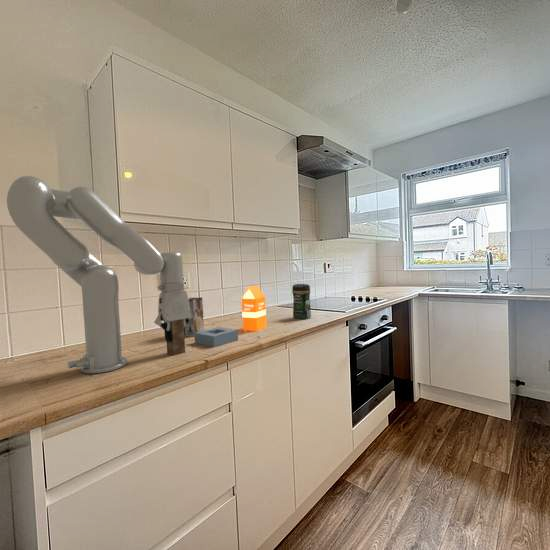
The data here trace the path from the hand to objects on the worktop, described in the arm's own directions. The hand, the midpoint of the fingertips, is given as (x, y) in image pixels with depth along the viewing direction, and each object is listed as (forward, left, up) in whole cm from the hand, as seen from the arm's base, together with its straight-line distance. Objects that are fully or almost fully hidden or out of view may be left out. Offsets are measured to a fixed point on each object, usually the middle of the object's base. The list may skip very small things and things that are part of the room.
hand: (175, 339), depth 105 cm
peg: (0, 0, -5) cm, 5 cm away
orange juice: (+43, +3, -5) cm, 43 cm away
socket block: (+18, 0, -5) cm, 19 cm away
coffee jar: (+76, -1, -5) cm, 76 cm away
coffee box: (+21, +20, -5) cm, 29 cm away
